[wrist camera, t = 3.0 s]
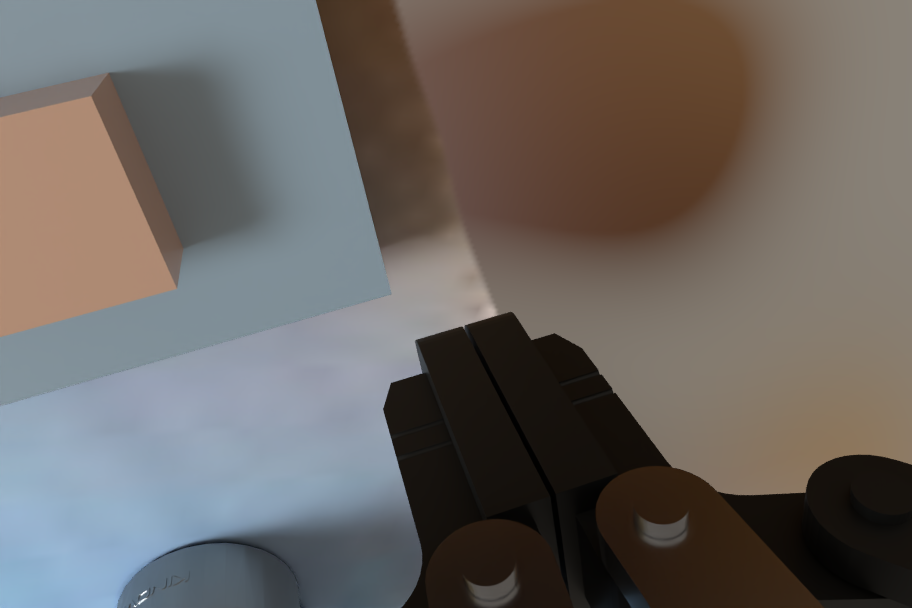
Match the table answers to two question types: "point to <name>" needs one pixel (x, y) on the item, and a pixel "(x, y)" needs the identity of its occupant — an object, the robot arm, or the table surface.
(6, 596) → the table surface
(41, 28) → the block
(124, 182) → the tan rectangular block
